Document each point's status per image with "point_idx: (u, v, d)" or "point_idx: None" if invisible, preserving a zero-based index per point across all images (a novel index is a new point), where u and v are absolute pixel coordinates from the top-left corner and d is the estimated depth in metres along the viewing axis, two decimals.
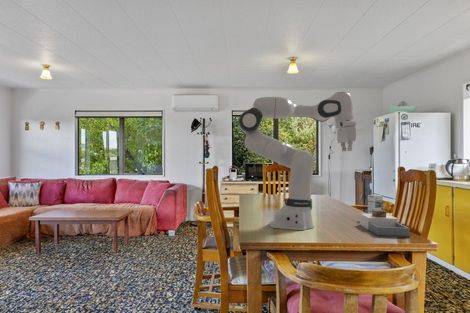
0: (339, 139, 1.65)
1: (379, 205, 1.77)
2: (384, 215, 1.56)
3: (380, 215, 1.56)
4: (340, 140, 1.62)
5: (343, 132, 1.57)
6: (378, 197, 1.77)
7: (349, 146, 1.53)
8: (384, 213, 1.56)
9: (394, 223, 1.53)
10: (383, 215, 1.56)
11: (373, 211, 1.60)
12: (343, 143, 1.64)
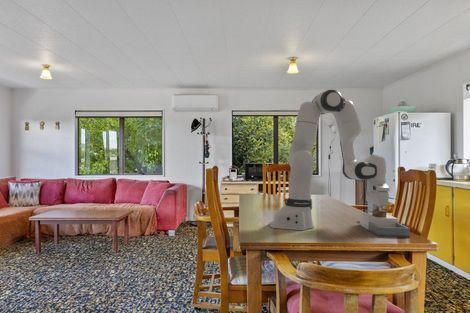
0: (368, 198, 1.68)
1: None
2: (384, 215, 1.56)
3: (380, 215, 1.56)
4: (369, 200, 1.66)
5: (374, 194, 1.61)
6: None
7: (376, 209, 1.61)
8: (384, 213, 1.56)
9: (394, 223, 1.53)
10: (383, 215, 1.56)
11: (373, 211, 1.60)
12: (375, 204, 1.64)
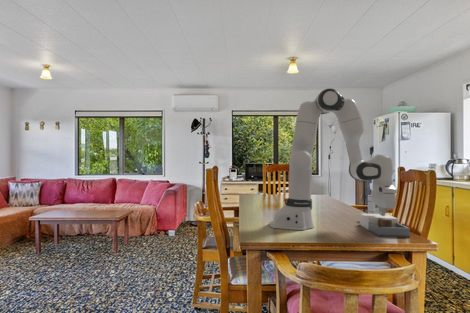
0: (374, 200, 1.61)
1: None
2: None
3: None
4: (375, 202, 1.59)
5: (380, 196, 1.53)
6: None
7: (383, 211, 1.53)
8: None
9: (394, 223, 1.53)
10: None
11: (380, 223, 1.51)
12: (381, 206, 1.56)
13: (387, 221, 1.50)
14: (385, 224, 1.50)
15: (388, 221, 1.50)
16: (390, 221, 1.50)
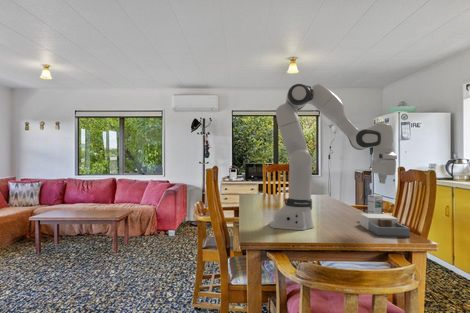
0: (374, 169, 1.61)
1: (379, 205, 1.77)
2: None
3: None
4: (375, 171, 1.59)
5: (381, 164, 1.53)
6: (378, 197, 1.77)
7: (383, 179, 1.53)
8: None
9: (394, 223, 1.53)
10: None
11: (380, 223, 1.51)
12: None
13: (387, 221, 1.50)
14: (385, 224, 1.50)
15: (388, 221, 1.50)
16: (390, 221, 1.50)
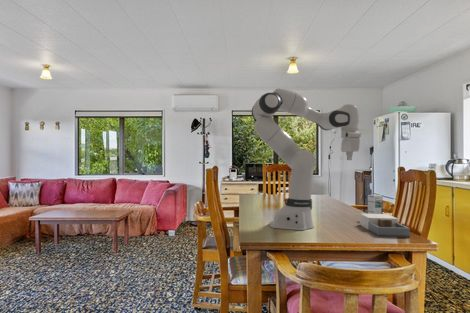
0: (343, 148, 1.76)
1: (379, 205, 1.77)
2: None
3: None
4: (344, 149, 1.74)
5: (347, 142, 1.69)
6: (378, 197, 1.77)
7: (349, 156, 1.69)
8: None
9: (394, 223, 1.53)
10: None
11: (380, 223, 1.51)
12: None
13: (387, 221, 1.50)
14: (385, 224, 1.50)
15: (388, 221, 1.50)
16: (390, 221, 1.50)
